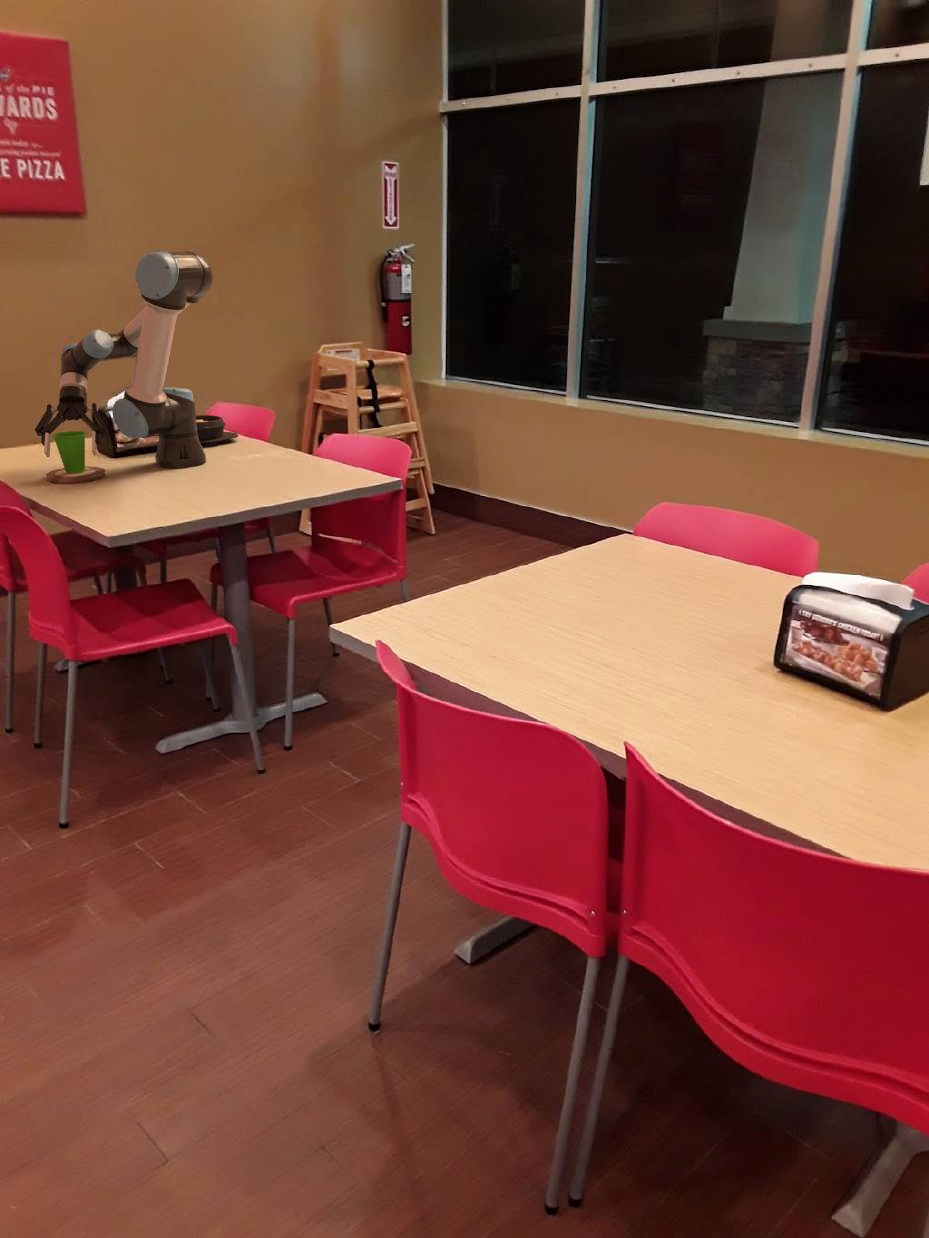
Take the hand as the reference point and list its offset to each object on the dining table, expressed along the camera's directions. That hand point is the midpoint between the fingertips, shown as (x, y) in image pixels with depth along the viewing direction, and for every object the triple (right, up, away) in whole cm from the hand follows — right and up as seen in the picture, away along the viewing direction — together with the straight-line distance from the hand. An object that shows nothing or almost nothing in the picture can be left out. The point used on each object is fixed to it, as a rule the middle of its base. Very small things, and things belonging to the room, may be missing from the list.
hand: (70, 453), depth 269 cm
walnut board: (0, -6, +5) cm, 8 cm away
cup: (0, -5, +5) cm, 7 cm away
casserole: (+23, +13, +54) cm, 60 cm away
